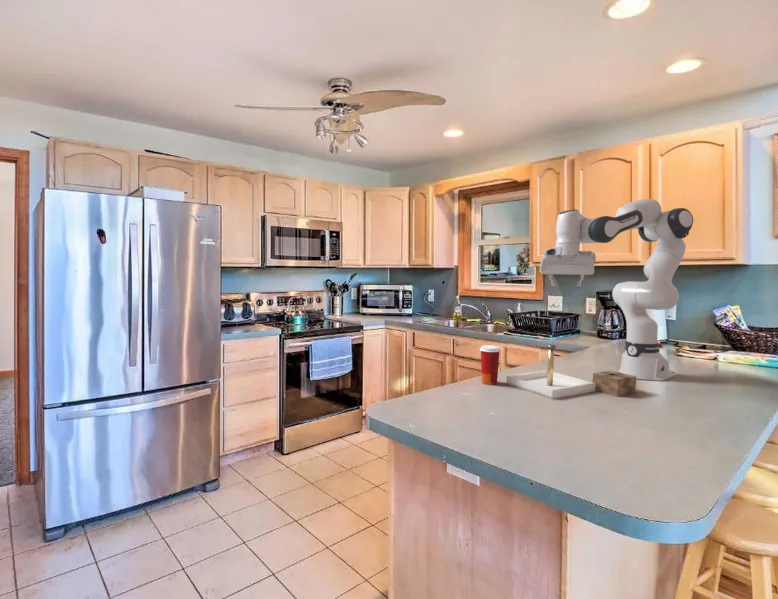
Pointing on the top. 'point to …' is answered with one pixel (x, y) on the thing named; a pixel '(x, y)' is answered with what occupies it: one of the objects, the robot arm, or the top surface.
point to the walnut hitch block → (614, 383)
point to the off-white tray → (560, 388)
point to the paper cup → (489, 364)
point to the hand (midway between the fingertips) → (565, 286)
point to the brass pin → (550, 364)
